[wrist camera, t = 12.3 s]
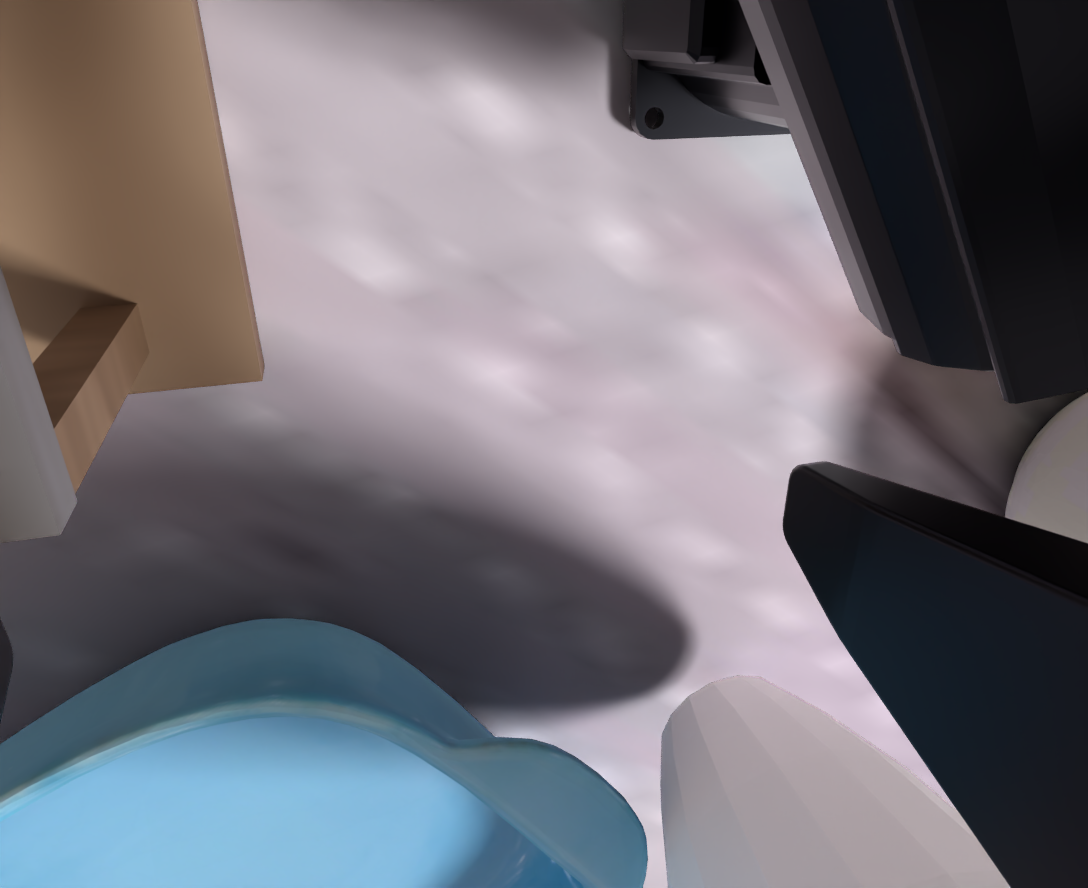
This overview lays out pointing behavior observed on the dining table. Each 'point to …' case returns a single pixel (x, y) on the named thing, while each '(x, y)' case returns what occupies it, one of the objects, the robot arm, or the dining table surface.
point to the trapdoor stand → (107, 237)
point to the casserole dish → (297, 779)
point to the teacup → (1055, 476)
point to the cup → (800, 802)
